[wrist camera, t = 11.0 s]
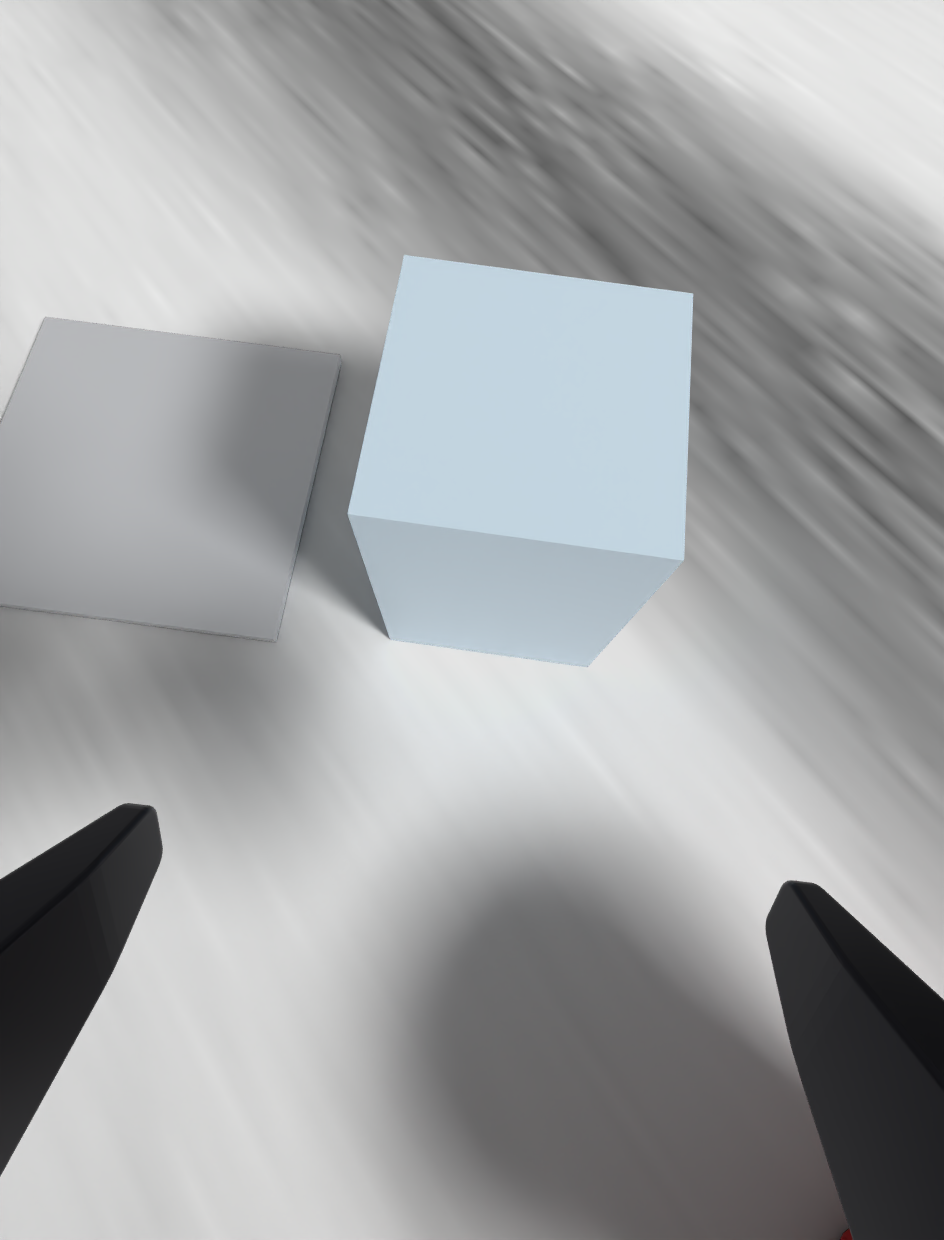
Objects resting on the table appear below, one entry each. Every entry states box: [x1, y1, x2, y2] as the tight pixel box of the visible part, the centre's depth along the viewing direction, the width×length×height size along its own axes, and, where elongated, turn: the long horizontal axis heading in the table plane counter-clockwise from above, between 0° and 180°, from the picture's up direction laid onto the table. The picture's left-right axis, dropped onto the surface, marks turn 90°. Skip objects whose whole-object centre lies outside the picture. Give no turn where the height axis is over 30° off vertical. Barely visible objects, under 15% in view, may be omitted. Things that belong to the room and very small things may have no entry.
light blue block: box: [347, 255, 693, 667], centre depth 18 cm, size 7×7×10 cm
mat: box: [0, 317, 342, 642], centre depth 23 cm, size 12×12×1 cm
